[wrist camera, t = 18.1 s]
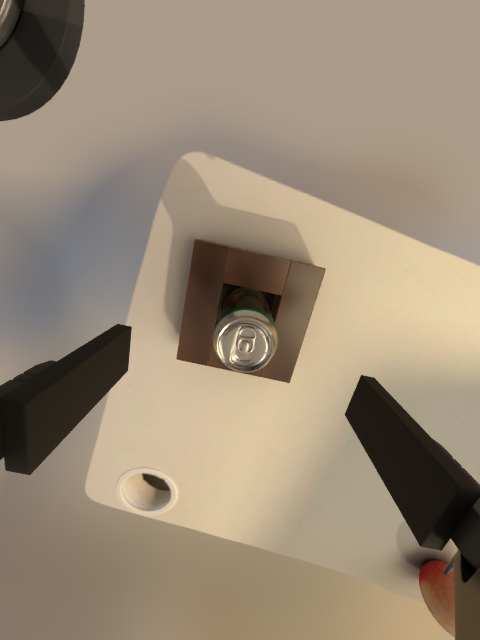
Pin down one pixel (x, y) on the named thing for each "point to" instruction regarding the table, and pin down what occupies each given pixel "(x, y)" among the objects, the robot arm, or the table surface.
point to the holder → (255, 273)
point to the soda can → (245, 331)
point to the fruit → (439, 593)
